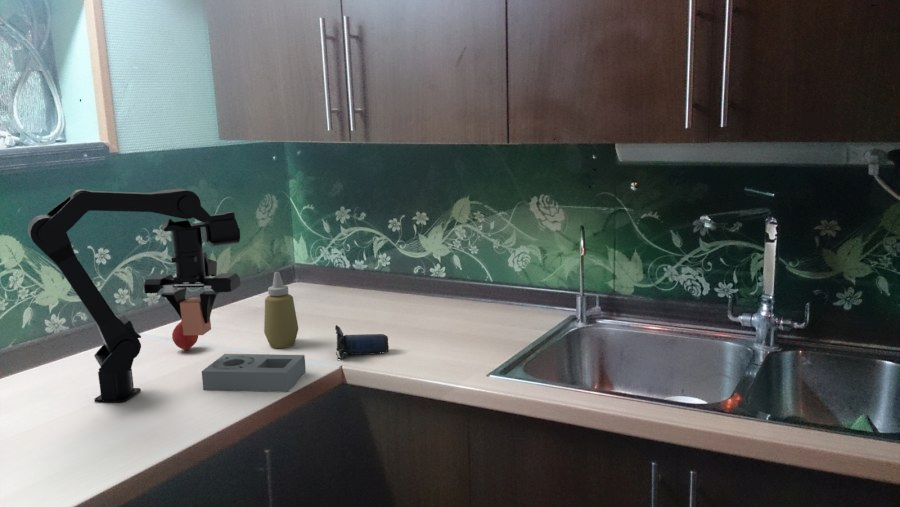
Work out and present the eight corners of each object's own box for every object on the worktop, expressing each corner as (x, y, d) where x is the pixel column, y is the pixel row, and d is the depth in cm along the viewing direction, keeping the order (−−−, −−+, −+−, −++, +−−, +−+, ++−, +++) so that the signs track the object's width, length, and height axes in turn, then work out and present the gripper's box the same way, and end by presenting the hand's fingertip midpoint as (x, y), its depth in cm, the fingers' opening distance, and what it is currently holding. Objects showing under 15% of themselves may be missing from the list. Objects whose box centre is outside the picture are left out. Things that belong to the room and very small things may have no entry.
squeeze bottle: (258, 348, 179) (251, 274, 176) (280, 338, 186) (275, 267, 183) (284, 352, 176) (278, 277, 172) (306, 342, 183) (301, 270, 179)
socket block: (288, 391, 151) (286, 372, 150) (203, 389, 153) (201, 371, 152) (305, 372, 161) (304, 354, 161) (226, 371, 164) (224, 353, 163)
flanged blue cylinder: (337, 367, 168) (390, 364, 172) (338, 337, 166) (391, 333, 169) (332, 348, 177) (383, 345, 180) (333, 319, 174) (384, 316, 177)
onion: (191, 354, 176) (188, 322, 174) (169, 354, 177) (165, 321, 176) (204, 347, 182) (200, 315, 180) (182, 346, 183) (179, 314, 181)
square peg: (202, 335, 156) (199, 302, 154) (183, 335, 156) (179, 302, 155) (211, 329, 160) (207, 297, 159) (192, 329, 160) (188, 297, 159)
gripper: (246, 241, 161) (253, 311, 164) (163, 243, 163) (172, 312, 167) (225, 252, 150) (233, 327, 154) (137, 253, 153) (147, 327, 156)
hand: (196, 322), depth 158 cm, fingers closed on square peg, 4 cm apart
